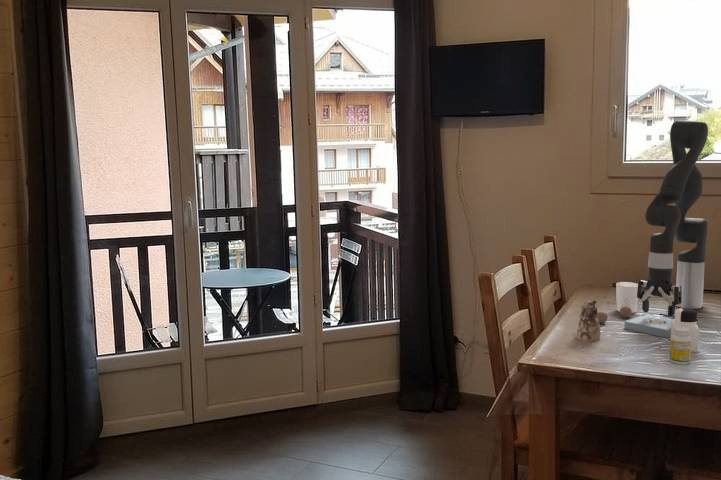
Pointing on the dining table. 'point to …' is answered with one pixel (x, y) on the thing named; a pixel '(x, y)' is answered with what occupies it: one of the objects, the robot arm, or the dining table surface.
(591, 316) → the figurine
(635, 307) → the white cup
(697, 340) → the medicine bottle
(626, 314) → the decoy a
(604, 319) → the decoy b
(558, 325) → the dining table surface
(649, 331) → the blue-grey square plate
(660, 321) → the ball
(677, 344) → the supplement bottle
